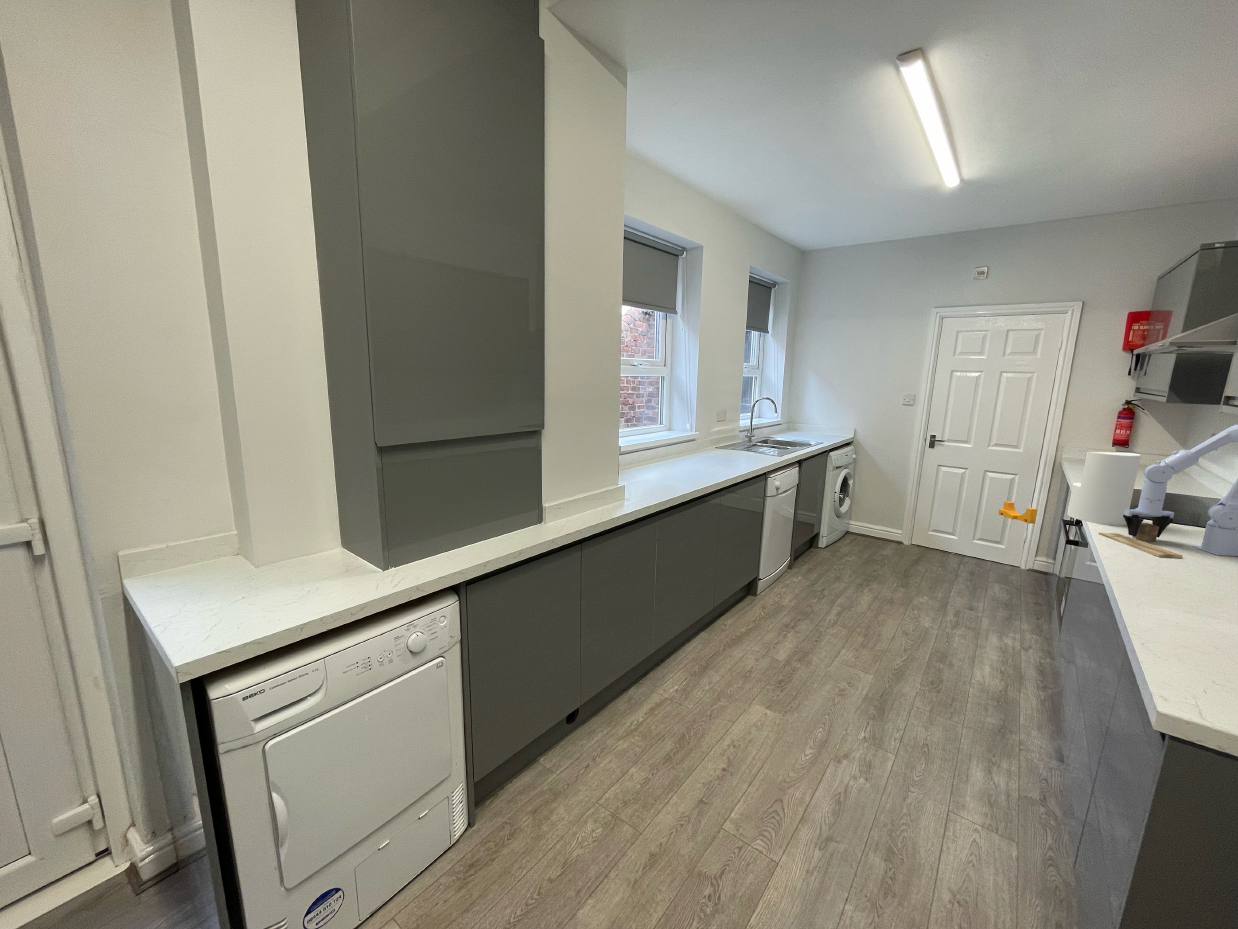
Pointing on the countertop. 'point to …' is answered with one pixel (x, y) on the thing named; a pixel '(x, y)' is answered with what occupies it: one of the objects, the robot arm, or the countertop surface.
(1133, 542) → the oak board
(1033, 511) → the mounting bracket
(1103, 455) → the cylinder
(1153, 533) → the block
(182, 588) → the countertop surface
